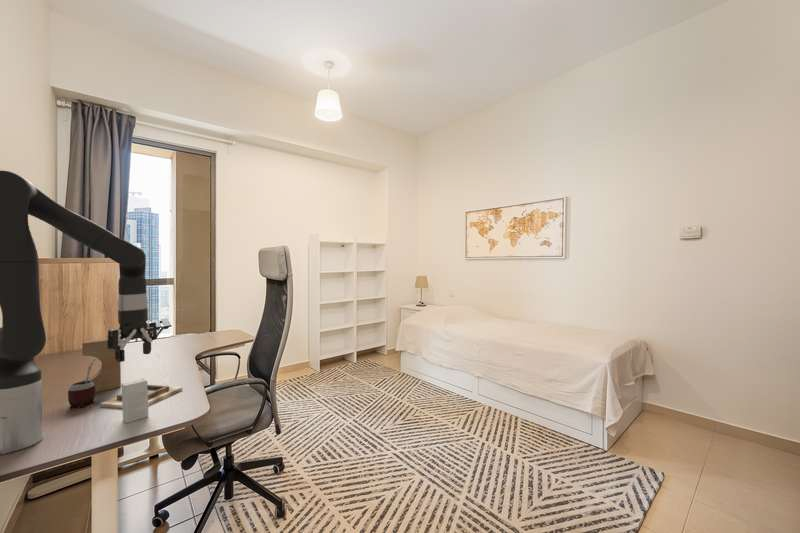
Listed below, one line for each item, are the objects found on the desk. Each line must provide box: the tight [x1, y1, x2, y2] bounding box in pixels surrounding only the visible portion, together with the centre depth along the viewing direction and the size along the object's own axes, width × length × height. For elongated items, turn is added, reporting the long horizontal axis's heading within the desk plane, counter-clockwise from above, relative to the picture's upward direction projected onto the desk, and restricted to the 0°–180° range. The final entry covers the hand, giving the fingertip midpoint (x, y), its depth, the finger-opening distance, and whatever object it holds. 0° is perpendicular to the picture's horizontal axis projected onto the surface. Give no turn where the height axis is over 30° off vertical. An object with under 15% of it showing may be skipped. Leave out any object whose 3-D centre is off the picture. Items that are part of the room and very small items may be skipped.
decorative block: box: [81, 336, 122, 394], centre depth 132 cm, size 11×6×20 cm, turn 134°
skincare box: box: [121, 377, 149, 424], centre depth 107 cm, size 6×4×12 cm
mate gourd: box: [67, 358, 96, 409], centre depth 118 cm, size 8×8×15 cm
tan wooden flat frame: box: [100, 384, 183, 410], centre depth 123 cm, size 18×16×3 cm
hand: (134, 357), depth 107 cm, fingers open, 8 cm apart
